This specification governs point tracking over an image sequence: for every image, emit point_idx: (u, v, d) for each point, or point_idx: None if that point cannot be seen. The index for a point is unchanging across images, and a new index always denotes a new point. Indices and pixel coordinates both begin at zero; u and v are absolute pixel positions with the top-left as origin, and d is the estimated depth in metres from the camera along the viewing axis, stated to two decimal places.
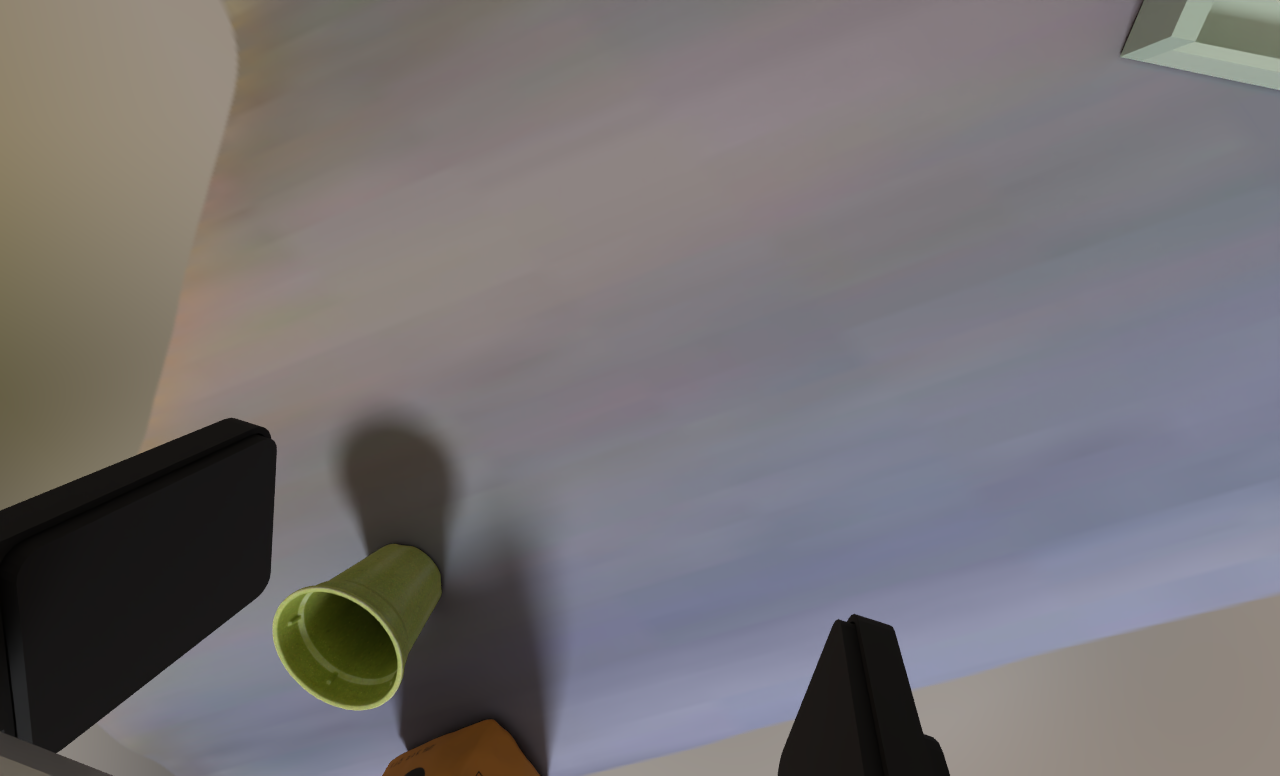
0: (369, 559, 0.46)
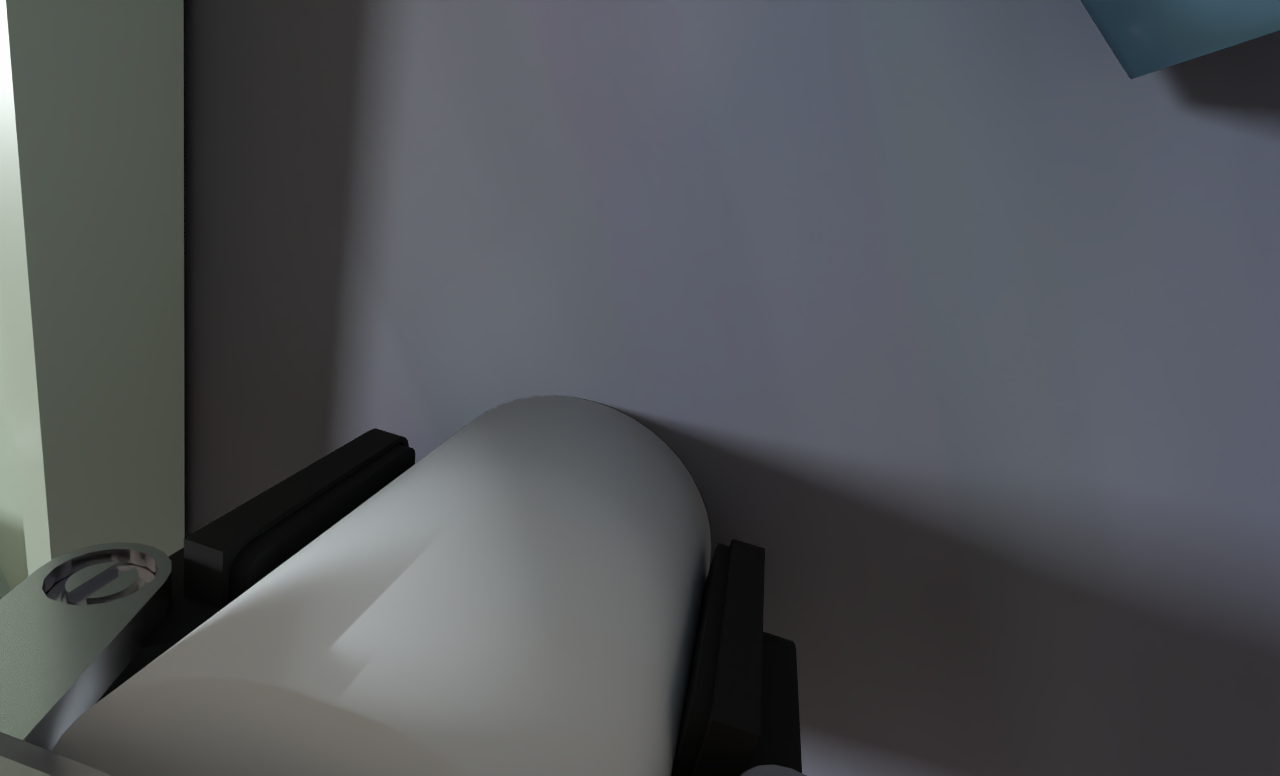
0: None
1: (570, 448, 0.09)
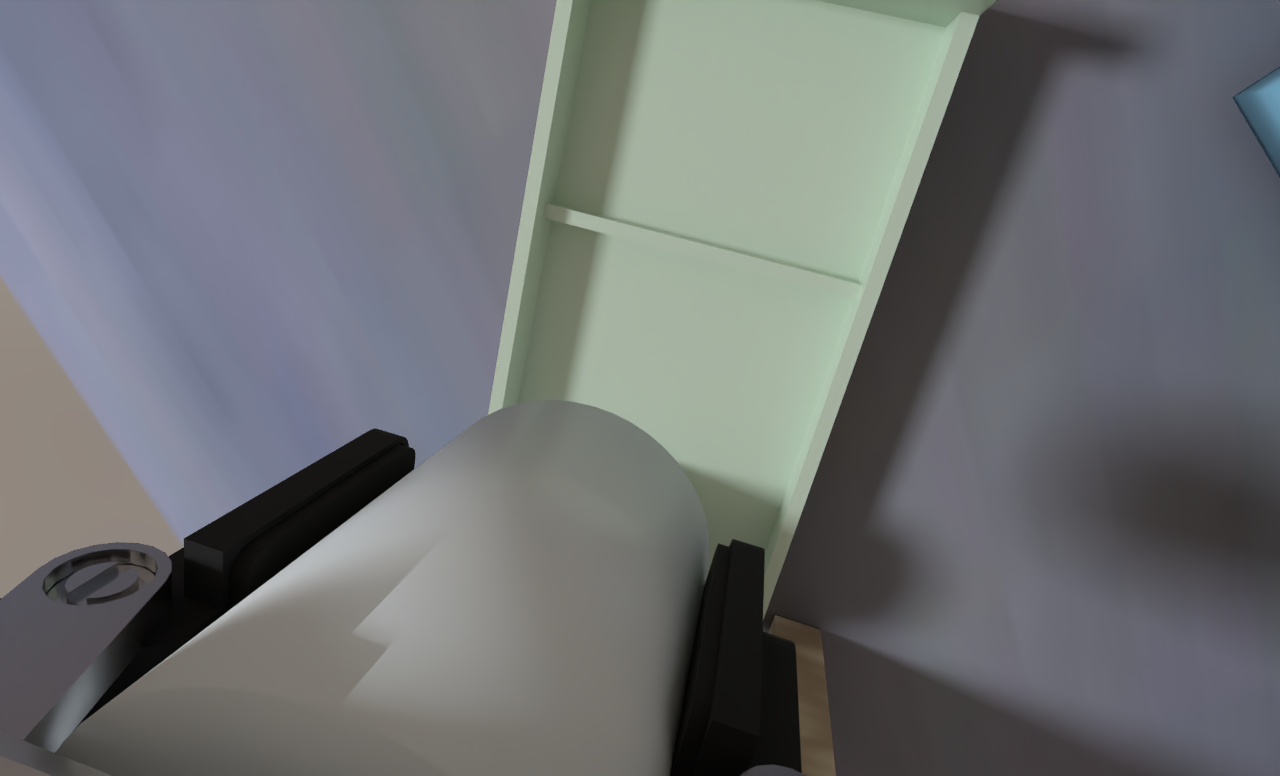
0: None
1: (569, 453, 0.09)
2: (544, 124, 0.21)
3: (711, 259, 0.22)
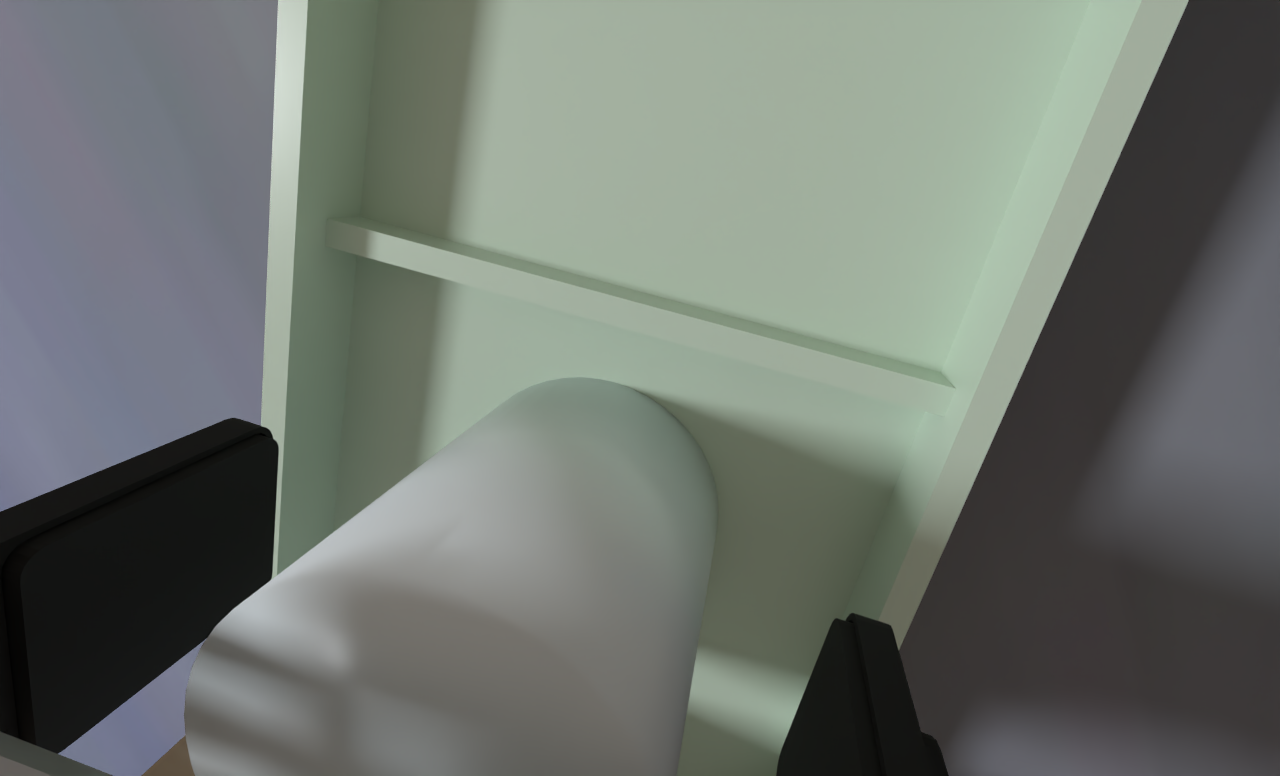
0: None
1: (597, 419, 0.11)
2: (291, 55, 0.10)
3: (648, 331, 0.11)
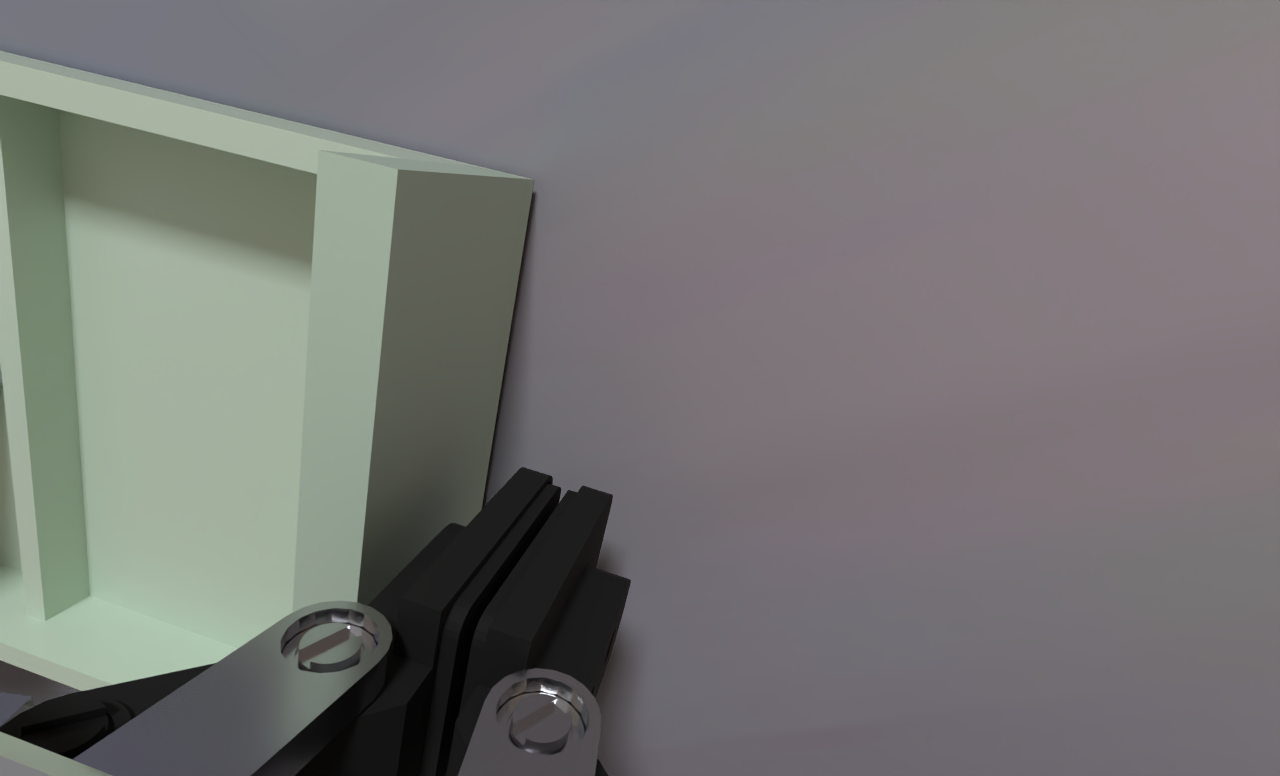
0: None
1: None
2: (72, 97, 0.10)
3: (8, 411, 0.13)
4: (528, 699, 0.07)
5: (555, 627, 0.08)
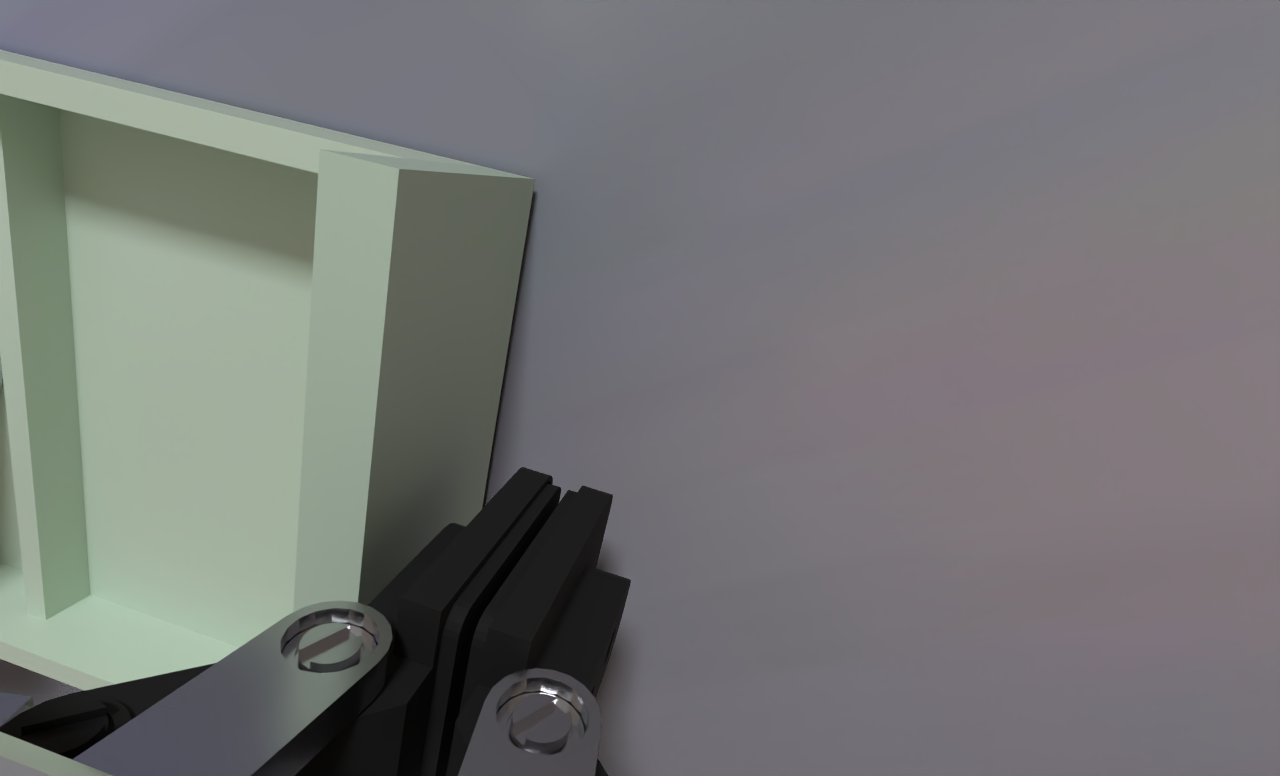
0: None
1: None
2: (73, 96, 0.10)
3: (9, 410, 0.13)
4: (528, 699, 0.07)
5: (555, 627, 0.08)
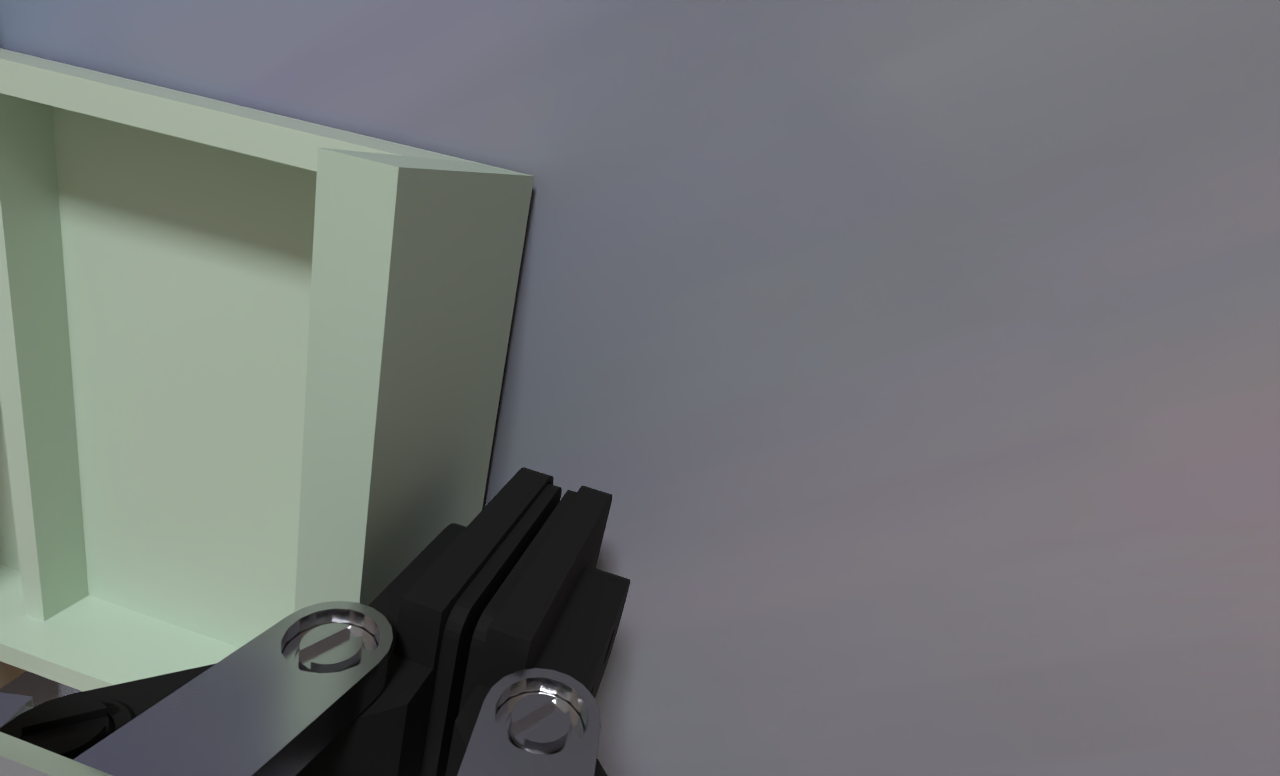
0: None
1: None
2: (67, 93, 0.10)
3: (5, 410, 0.13)
4: (527, 699, 0.07)
5: (554, 627, 0.08)
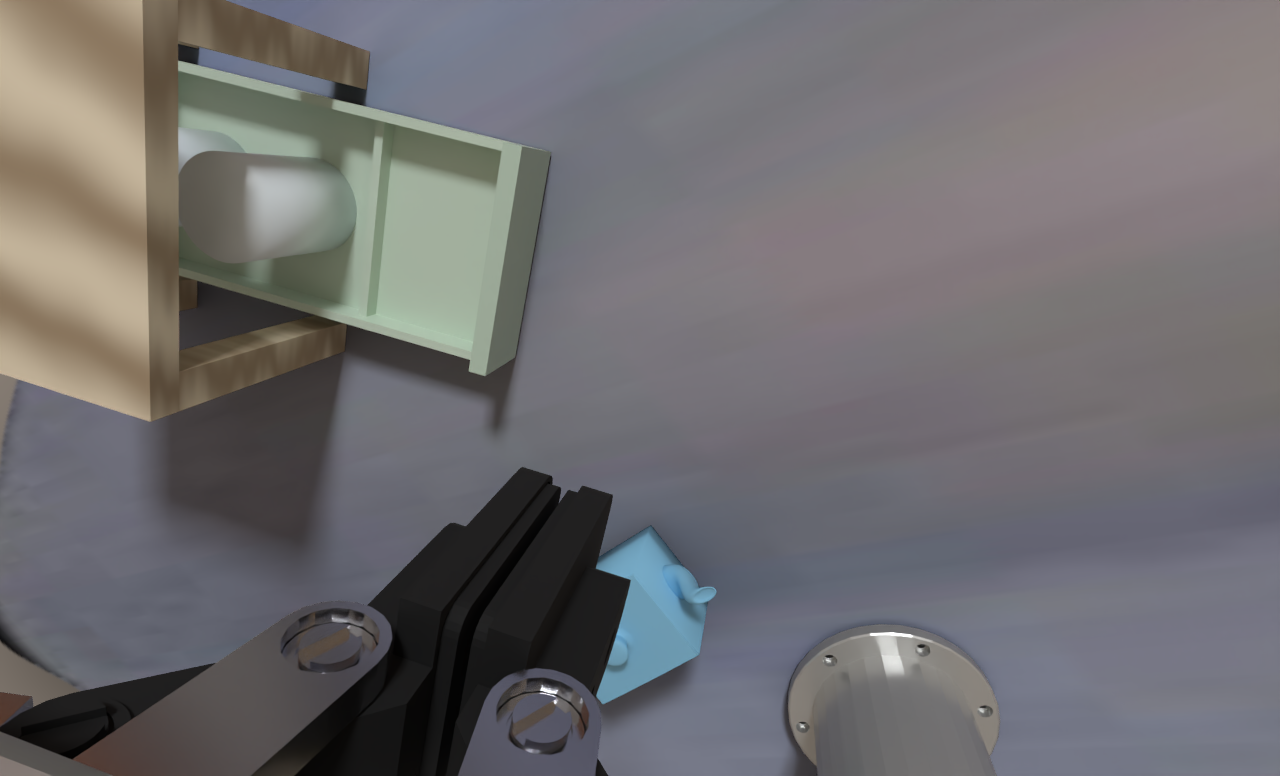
0: None
1: (334, 223, 0.37)
2: (419, 126, 0.34)
3: (367, 231, 0.37)
4: (529, 699, 0.07)
5: (555, 627, 0.08)
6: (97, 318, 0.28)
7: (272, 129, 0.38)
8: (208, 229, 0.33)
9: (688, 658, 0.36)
